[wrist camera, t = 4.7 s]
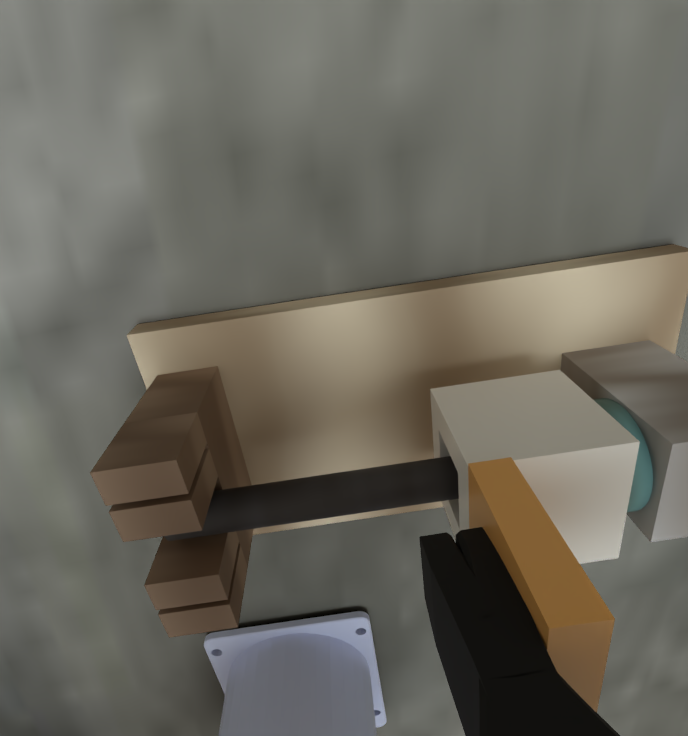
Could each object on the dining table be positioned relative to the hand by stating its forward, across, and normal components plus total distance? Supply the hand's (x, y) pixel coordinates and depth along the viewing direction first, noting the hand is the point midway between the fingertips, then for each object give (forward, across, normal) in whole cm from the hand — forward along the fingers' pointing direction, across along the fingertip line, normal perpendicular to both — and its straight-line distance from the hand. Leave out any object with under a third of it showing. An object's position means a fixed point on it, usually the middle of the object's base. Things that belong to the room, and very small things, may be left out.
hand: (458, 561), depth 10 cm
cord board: (+7, 0, 0) cm, 7 cm away
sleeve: (+5, -3, 0) cm, 5 cm away
